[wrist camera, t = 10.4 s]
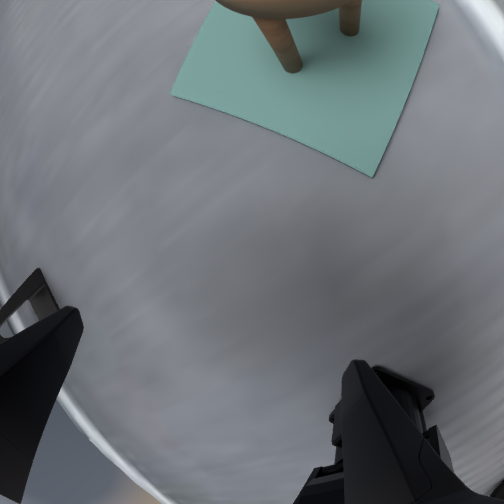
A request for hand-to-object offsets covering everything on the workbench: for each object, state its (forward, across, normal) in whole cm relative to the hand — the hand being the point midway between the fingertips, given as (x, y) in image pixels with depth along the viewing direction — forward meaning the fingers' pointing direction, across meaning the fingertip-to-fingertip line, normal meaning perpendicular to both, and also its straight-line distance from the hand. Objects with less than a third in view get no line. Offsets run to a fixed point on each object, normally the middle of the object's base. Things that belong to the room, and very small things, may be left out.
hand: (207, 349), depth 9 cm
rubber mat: (+14, -2, -12) cm, 18 cm away
